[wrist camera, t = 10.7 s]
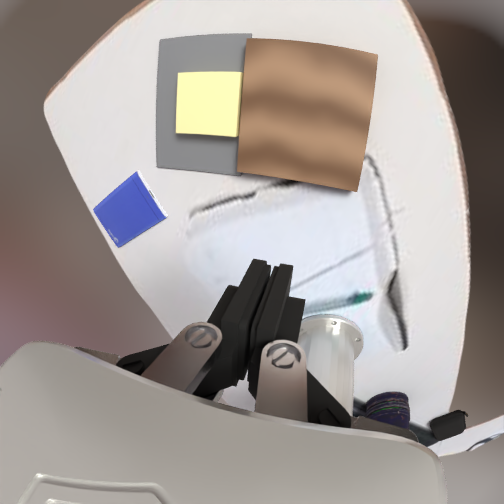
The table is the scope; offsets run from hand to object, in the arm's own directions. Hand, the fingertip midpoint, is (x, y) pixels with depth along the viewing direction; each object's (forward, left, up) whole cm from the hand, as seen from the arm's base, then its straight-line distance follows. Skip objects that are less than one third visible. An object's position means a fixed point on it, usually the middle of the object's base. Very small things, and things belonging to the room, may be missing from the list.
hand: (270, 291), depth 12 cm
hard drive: (-10, +26, -25) cm, 38 cm away
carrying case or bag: (-54, -52, -25) cm, 79 cm away
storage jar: (-45, -27, -24) cm, 58 cm away
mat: (+6, +14, -24) cm, 29 cm away
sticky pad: (+6, +12, -24) cm, 28 cm away
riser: (+6, +1, -24) cm, 25 cm away
